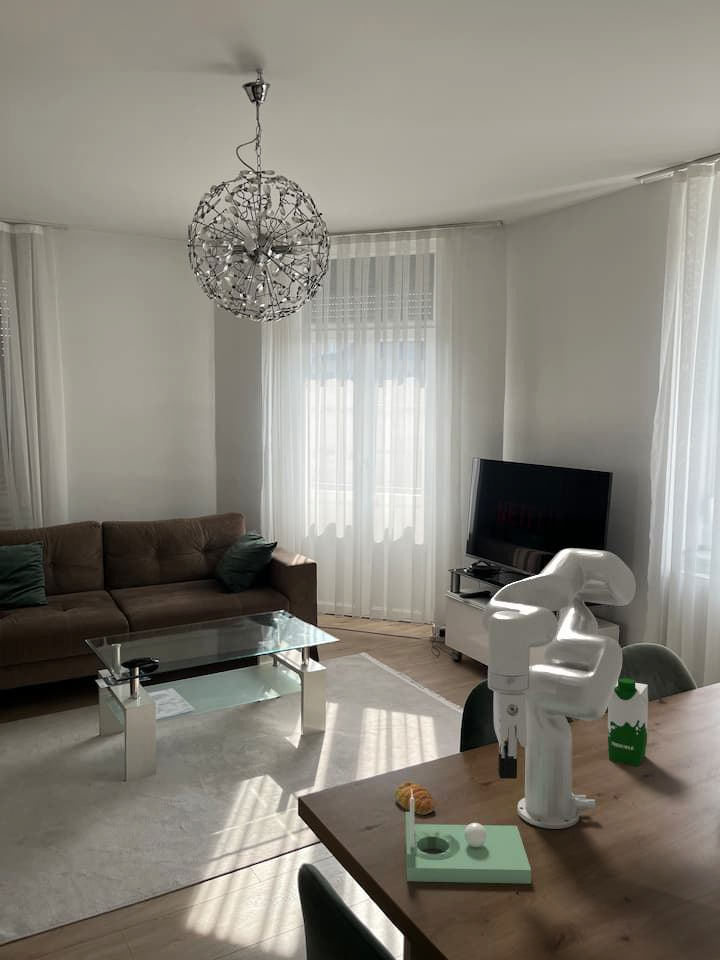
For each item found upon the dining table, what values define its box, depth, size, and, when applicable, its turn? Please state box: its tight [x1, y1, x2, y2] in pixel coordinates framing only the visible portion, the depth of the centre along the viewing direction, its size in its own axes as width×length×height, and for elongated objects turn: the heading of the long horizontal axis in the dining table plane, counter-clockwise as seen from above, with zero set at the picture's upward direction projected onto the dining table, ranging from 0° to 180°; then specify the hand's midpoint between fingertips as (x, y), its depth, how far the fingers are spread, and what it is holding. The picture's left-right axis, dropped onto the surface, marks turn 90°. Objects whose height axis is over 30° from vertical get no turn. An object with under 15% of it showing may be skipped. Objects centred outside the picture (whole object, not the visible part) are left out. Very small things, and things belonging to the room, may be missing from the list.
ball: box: [464, 822, 487, 848], centre depth 141 cm, size 4×4×4 cm
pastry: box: [394, 781, 436, 816], centre depth 162 cm, size 9×7×4 cm
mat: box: [405, 811, 532, 885], centre depth 142 cm, size 22×15×5 cm
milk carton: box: [607, 677, 649, 767], centre depth 184 cm, size 9×9×20 cm
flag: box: [409, 789, 415, 848], centre depth 139 cm, size 1×4×14 cm, turn 178°
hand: (507, 776), depth 140 cm, fingers closed
